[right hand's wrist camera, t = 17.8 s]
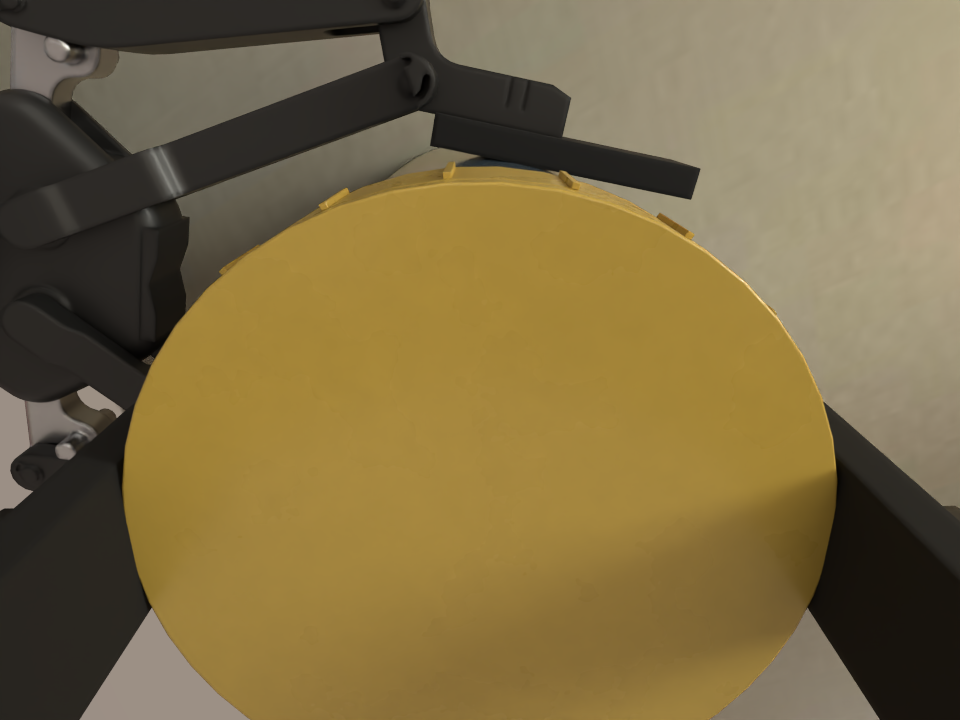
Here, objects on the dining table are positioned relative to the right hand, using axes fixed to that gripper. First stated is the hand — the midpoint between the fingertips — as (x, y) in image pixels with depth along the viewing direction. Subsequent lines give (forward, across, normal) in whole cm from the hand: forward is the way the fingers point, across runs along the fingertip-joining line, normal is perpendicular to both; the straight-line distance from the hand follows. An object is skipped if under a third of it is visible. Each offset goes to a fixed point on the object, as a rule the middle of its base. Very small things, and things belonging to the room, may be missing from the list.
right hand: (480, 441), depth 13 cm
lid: (-3, 0, 0) cm, 3 cm away
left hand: (+6, -4, +1) cm, 8 cm away
